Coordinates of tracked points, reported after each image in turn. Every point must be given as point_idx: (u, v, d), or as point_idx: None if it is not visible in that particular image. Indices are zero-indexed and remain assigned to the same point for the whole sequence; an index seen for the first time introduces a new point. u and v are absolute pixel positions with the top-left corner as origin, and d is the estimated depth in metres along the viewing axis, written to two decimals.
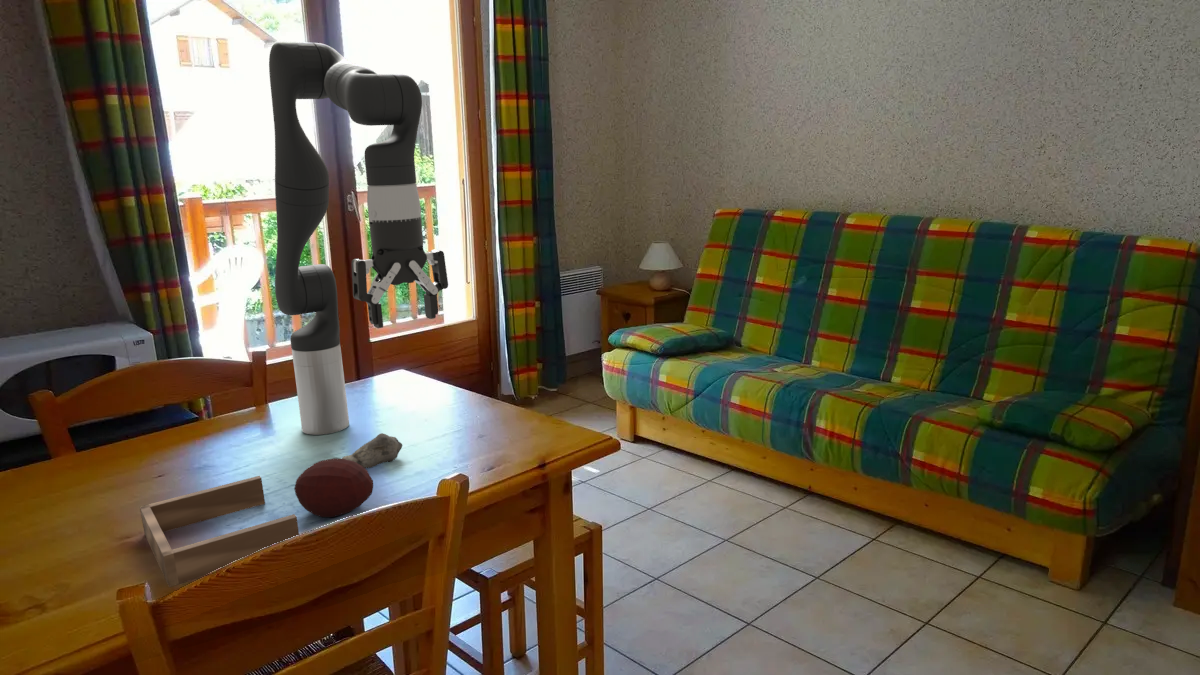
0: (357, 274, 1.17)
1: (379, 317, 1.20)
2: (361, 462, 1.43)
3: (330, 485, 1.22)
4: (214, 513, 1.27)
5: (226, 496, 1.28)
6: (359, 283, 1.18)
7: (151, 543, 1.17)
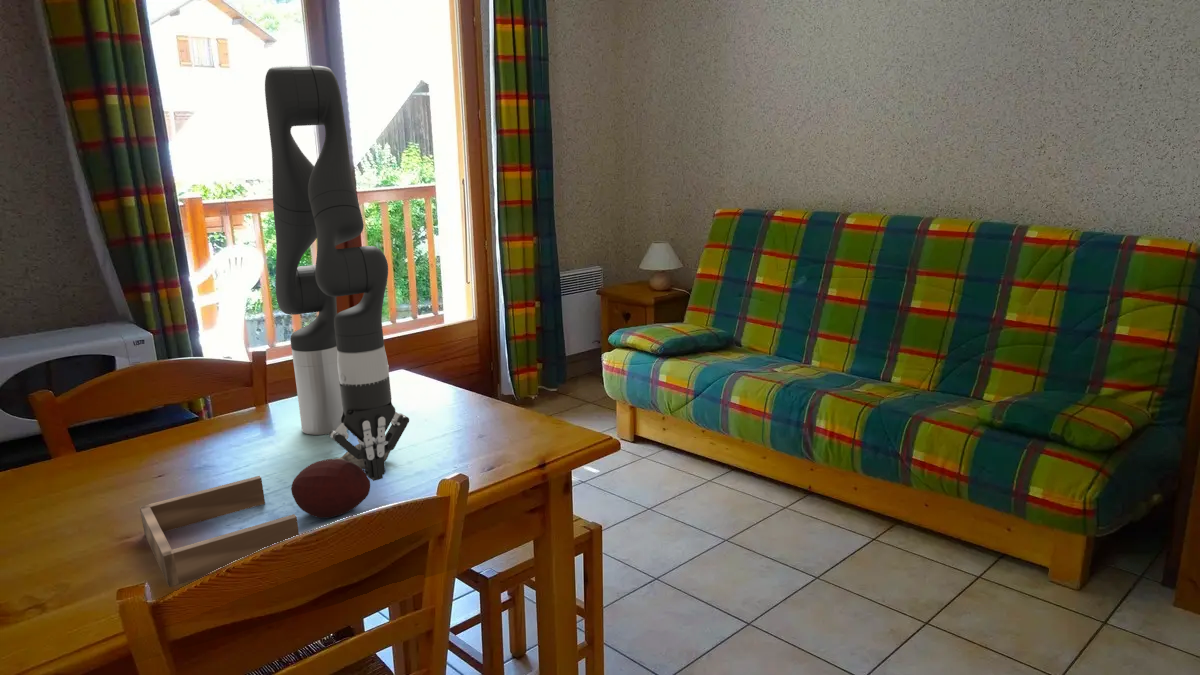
0: (341, 445, 1.26)
1: (374, 471, 1.29)
2: None
3: (327, 485, 1.22)
4: (214, 513, 1.27)
5: (226, 496, 1.28)
6: (348, 450, 1.26)
7: (151, 543, 1.17)
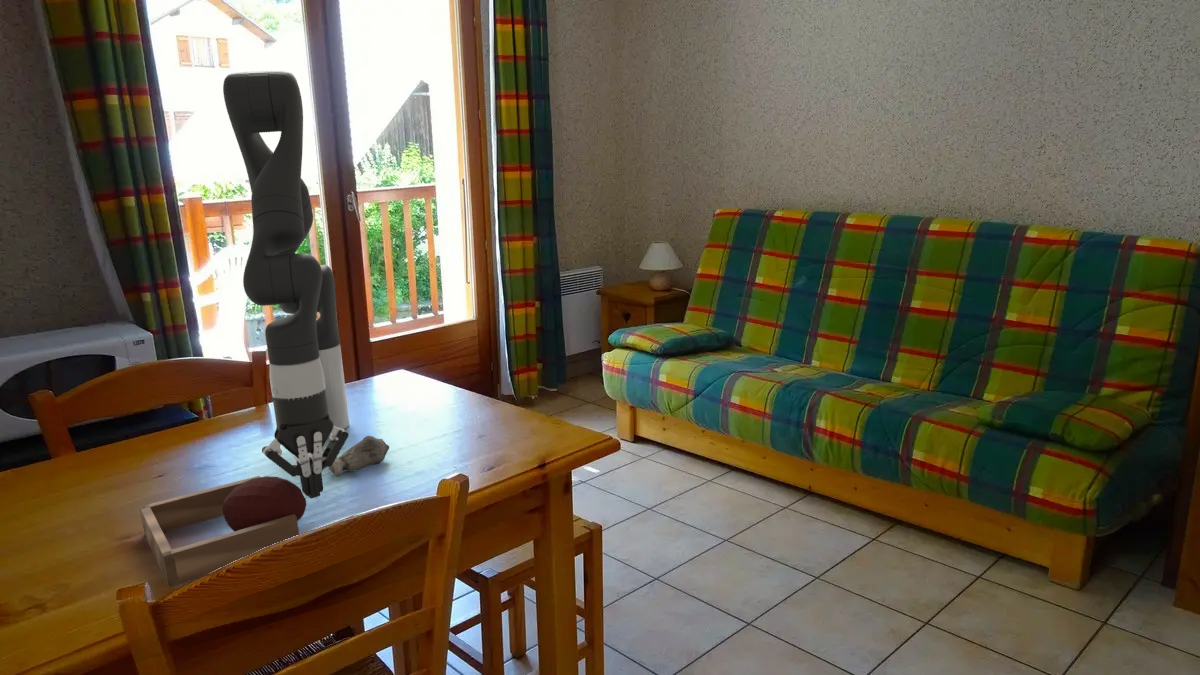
0: (274, 462, 1.20)
1: (311, 489, 1.24)
2: (348, 465, 1.42)
3: (258, 505, 1.16)
4: (214, 513, 1.27)
5: (226, 496, 1.28)
6: (282, 467, 1.20)
7: (151, 543, 1.17)
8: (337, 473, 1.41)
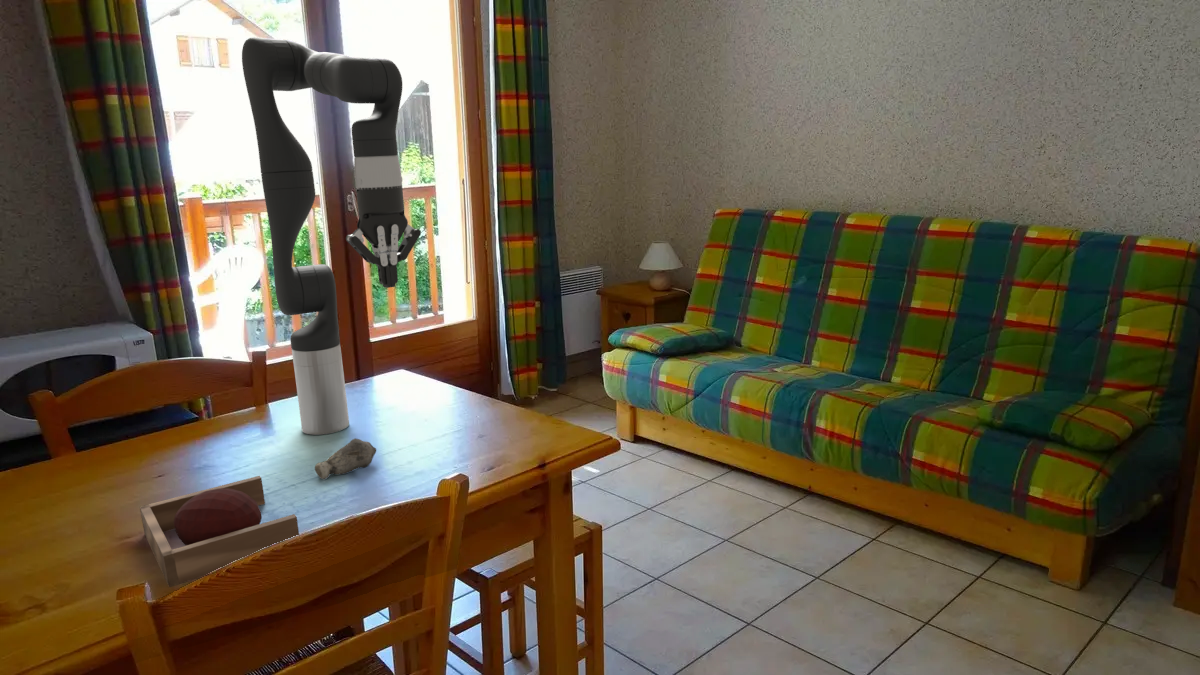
0: (357, 248, 1.34)
1: (388, 278, 1.38)
2: (335, 468, 1.41)
3: (210, 519, 1.12)
4: None
5: None
6: (363, 253, 1.35)
7: (151, 543, 1.17)
8: (324, 476, 1.40)
